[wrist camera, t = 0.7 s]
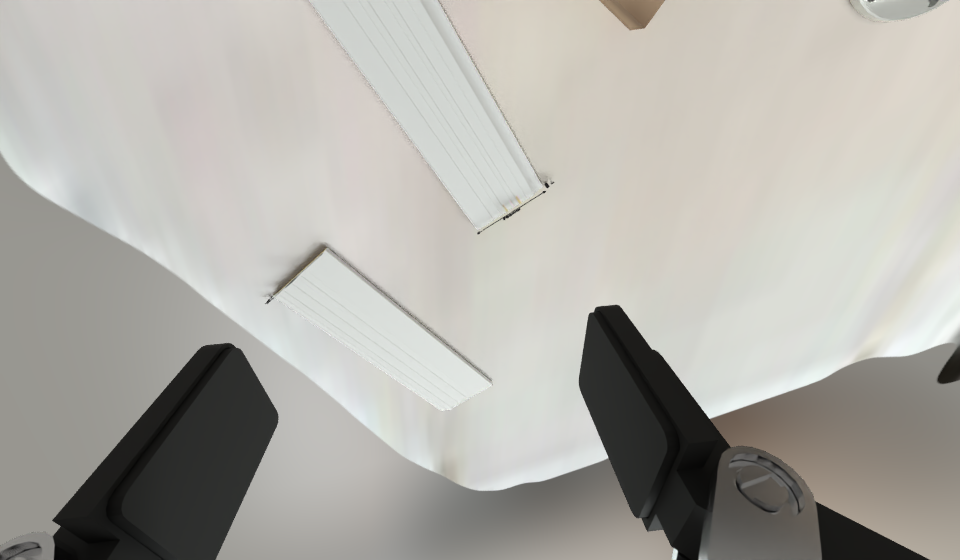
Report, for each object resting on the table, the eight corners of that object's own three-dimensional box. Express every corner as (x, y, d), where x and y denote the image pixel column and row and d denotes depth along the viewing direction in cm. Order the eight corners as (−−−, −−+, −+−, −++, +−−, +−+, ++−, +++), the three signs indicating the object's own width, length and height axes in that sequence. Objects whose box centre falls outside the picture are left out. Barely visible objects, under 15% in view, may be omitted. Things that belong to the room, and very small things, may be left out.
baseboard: (348, -205, 22) (248, -88, 25) (335, -236, 20) (226, -103, 23) (553, 177, 37) (476, 226, 39) (560, 185, 34) (477, 236, 37)
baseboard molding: (435, 410, 58) (491, 377, 54) (434, 426, 55) (493, 392, 51) (268, 298, 43) (328, 243, 40) (257, 312, 41) (320, 255, 37)
